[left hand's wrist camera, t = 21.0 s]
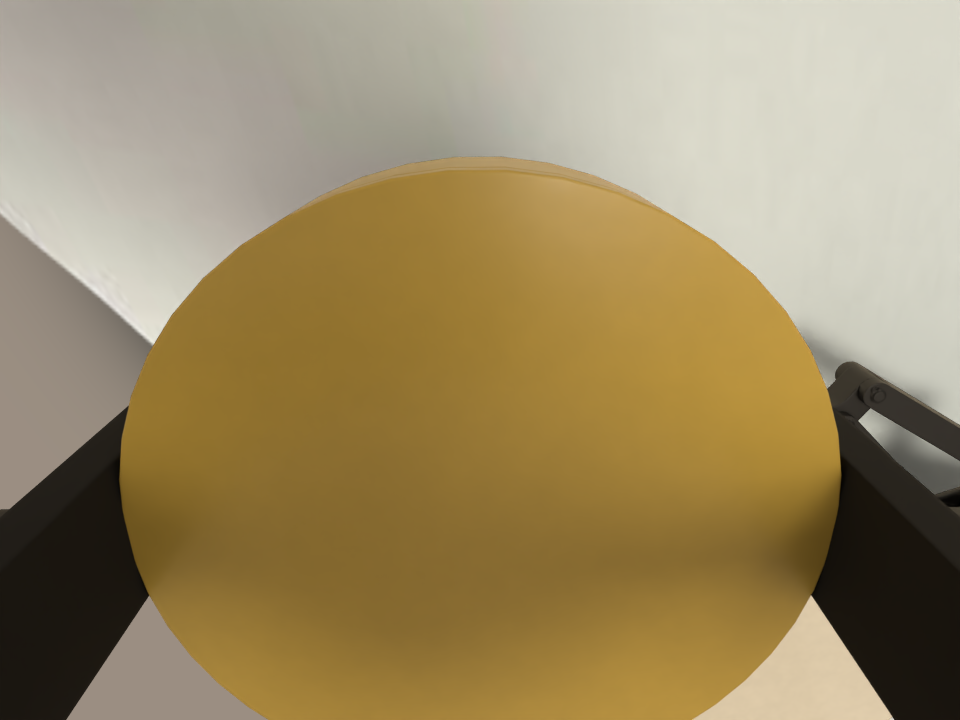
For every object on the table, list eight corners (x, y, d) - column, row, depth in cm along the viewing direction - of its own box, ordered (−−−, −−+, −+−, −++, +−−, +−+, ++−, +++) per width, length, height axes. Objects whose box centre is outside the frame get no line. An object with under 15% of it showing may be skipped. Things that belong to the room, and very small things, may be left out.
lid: (771, 84, 10) (844, 81, 8) (790, 643, 14) (841, 732, 12) (73, 235, 11) (-20, 266, 9) (287, 719, 15) (258, 814, 13)
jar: (579, 509, 39) (636, 745, 25) (617, 357, 35) (709, 534, 21) (739, 529, 40) (884, 771, 25) (793, 382, 36) (999, 570, 22)
